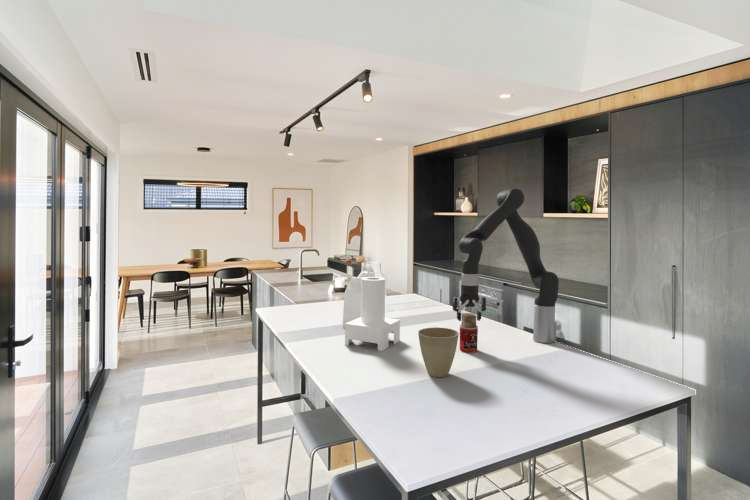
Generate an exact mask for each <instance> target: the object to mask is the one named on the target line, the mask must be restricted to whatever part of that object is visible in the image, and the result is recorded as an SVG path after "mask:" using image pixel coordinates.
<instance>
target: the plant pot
mask: <svg viewBox="0 0 750 500" xmlns="http://www.w3.org/2000/svg"><path fill="white" fill-rule="evenodd" d="M417 335H418V340H419V347H420V351H421V355H422V359H423V362H424V366H425V369H426V372H427V374H428V375H429V376H431V377H434V378H445V377H447V376H448V375H449V373H450V371H451V367H452V365H453V363H454V359H455V355H456V352H457V346H458V340H459V336H460V332H459V331H457V330H455V329H452V328H448V327H438V326H437V327H425V328H421V329H419V330H418V332H417Z"/></svg>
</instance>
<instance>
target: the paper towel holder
mask: <svg viewBox="0 0 750 500" xmlns="http://www.w3.org/2000/svg"><path fill="white" fill-rule="evenodd" d="M389 334H393V344H394V345H395V344H396V343H398V342H400V341H401V319H397V318H396V319H395V318H388V317H386V278H385V277H382V276H381V277H380V276H368V277H366V276H365V277H361V317H360V318H357V319H355V320H353V321H350V322H348V323H345V328H344V345H345V346H349V345H350V343H352V342H353V341H359V342H366V343H372V344H377V351H379V352H383V351H384V350H386V349H388V348H389Z"/></svg>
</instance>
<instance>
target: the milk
mask: <svg viewBox="0 0 750 500" xmlns="http://www.w3.org/2000/svg"><path fill="white" fill-rule="evenodd" d="M361 278H362V277H358V276H351V277H350V280H349V283H348V284H347V286H346V288H345V291H344V293H343V294H344V296H343V309H342V313H343V314H342V328H344V329H345V323H348V322H350V321H353V320H355V319H357V318H360V317H361Z"/></svg>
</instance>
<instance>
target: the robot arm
mask: <svg viewBox="0 0 750 500" xmlns="http://www.w3.org/2000/svg"><path fill="white" fill-rule="evenodd" d="M496 202H497V206H498V207H497V208H495V210H494V211H492V212H491V213H489V214H488V215H486V217H484V218H483V219H482V220H481V221H480V222H479V223H478V225H477V226H476V227H475V228H474V229H473V230H470V232H468V233H467V234H465V235H463V237H462V238H461V239H460V241H459V243H458V249H459V251H460V252H461V253H463V254H466V255H468V257H467V259H464V260H462V262H461V276H460V295H459V296H458V297H457V296H453V298H452V310H453V311H454V312H456V320H458V321H459V322H462V311H463V310H464V309H465V308H475V309H476V321H481V319H482V313H483V312H484V311H486V310H487V307H486V306H487V305H486V304H487V302H486V301H487V300H486V299H487V298H486V297H485V296H479V285H480V280H479V279H480V278H479V264H480V261H481V257H482V254H483V251H484V250H483V249H484V247H483V242H486V240H488V239H489V238H490V236H492V234H493V233H494V232H495V231H496V229H498V227H500V225H501V224H502V223H503V222H504V221H505V220H506V222H507V224H508V226H509V228H510V231H511V233H512V235H513V237H514V239H515V242H516V245H517V247H518V249H519V251H520V253H521V255H522V258H523V260H524V261H525V264H526V266H527V270H528V273H529V276H530V279H531V282H532V285H533V286H534V287H535V288H536V289H538V290H539V291H538V296H537V297H536V298H534V302H533V303H534V308H533V309H534V310H533V311H534V313H533V334H532V336H533V337H532V340H533V341H534V342H537V343H541V344H551V343H556V341H557V323H558V322H557V321H555V319H556V304H557V301H558V296H559V285H560V282H559V278H558V275H557V274H556V273H554V272H552V271H548V270H546V268H545V266H544V264H543V262H542V259H541V246H540V245H541V244H540V241H539V239H538V236H537V234H536V232H535V230H534V228H532V226H531V225H529V224H528V223H527V222H526V221H525V220H524V219H523V217H521V216H520V214H519V213H518V209H520V208H521V207H522V206H523V205H524V202H525V194H524V192H523V190H521V189H519V188H510V189H505V190H503V191H502V190H501V191H500V192H499V193H497V196H496ZM459 301H460V303H459ZM478 302H480V304H481V307H480V305H479V304H478ZM458 303H459V304H458ZM458 305H459V306H458Z"/></svg>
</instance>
